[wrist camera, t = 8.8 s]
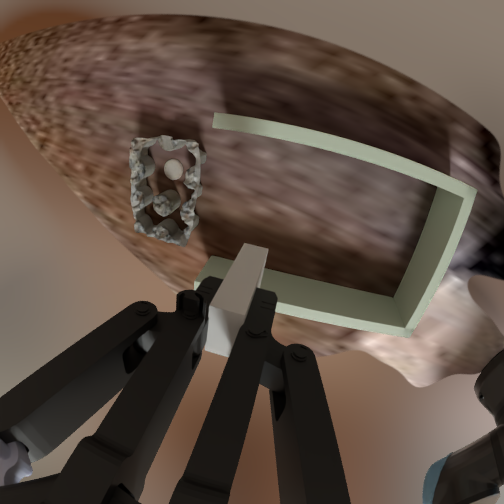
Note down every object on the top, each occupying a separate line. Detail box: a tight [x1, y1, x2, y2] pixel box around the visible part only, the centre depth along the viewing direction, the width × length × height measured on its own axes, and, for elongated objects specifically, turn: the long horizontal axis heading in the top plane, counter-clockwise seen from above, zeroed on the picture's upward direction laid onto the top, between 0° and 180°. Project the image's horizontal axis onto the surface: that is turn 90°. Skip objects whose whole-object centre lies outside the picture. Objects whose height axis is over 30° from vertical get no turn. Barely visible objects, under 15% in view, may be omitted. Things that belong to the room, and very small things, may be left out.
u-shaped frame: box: [194, 113, 477, 338], centre depth 25 cm, size 23×16×6 cm
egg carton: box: [129, 135, 206, 247], centre depth 27 cm, size 11×8×4 cm
